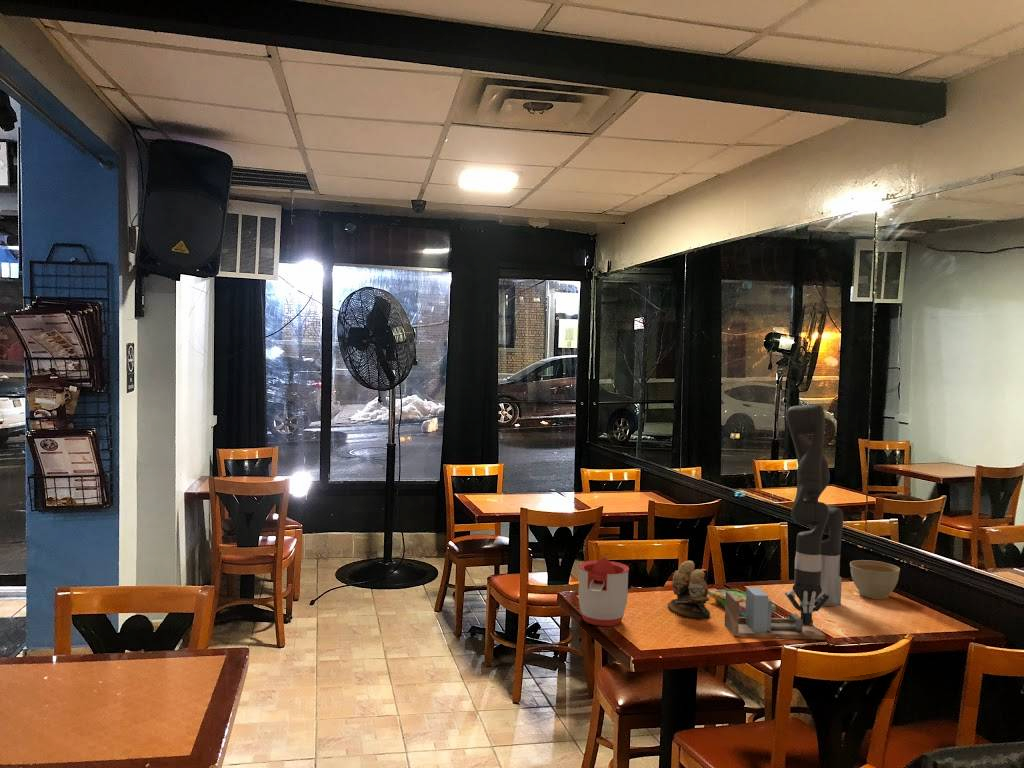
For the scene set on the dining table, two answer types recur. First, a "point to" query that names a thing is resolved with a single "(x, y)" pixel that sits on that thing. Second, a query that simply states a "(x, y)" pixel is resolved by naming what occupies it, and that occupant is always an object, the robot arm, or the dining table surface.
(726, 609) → the shelf
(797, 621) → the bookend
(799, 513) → the robot arm
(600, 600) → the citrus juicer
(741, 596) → the puzzle game
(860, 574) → the planter bowl
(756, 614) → the pale blue block
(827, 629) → the dining table surface
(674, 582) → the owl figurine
